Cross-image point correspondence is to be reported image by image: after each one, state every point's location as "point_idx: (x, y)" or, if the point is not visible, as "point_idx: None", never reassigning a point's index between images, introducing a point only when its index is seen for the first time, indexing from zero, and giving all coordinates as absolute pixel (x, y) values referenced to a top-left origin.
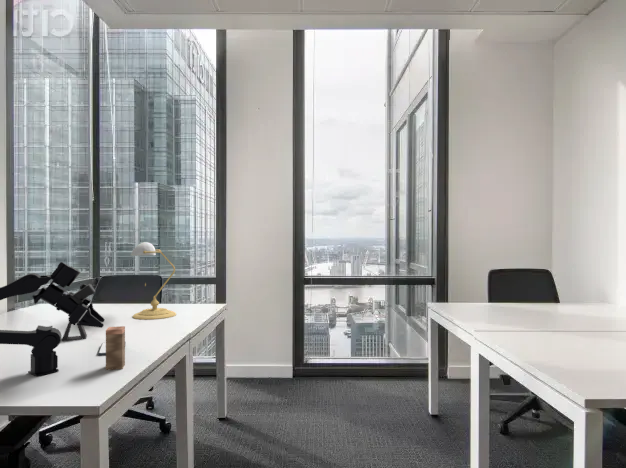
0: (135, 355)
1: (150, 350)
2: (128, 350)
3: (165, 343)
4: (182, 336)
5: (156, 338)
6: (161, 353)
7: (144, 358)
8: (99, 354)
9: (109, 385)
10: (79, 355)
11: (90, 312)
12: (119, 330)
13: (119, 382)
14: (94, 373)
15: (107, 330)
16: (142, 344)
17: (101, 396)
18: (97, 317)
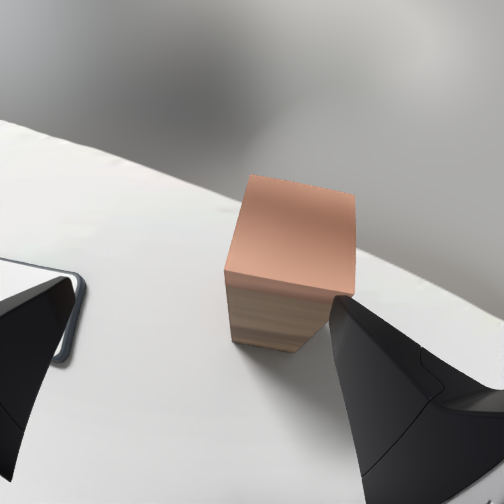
0: (135, 242)
1: (107, 199)
2: (60, 258)
3: (68, 164)
4: (44, 136)
5: (11, 184)
6: (164, 174)
7: (194, 220)
8: (64, 357)
9: (449, 327)
10: (32, 416)
11: (493, 400)
12: (352, 213)
13: (433, 303)
14: (320, 390)
15: (352, 283)
16: (31, 216)
17: (499, 335)
18: (36, 330)
